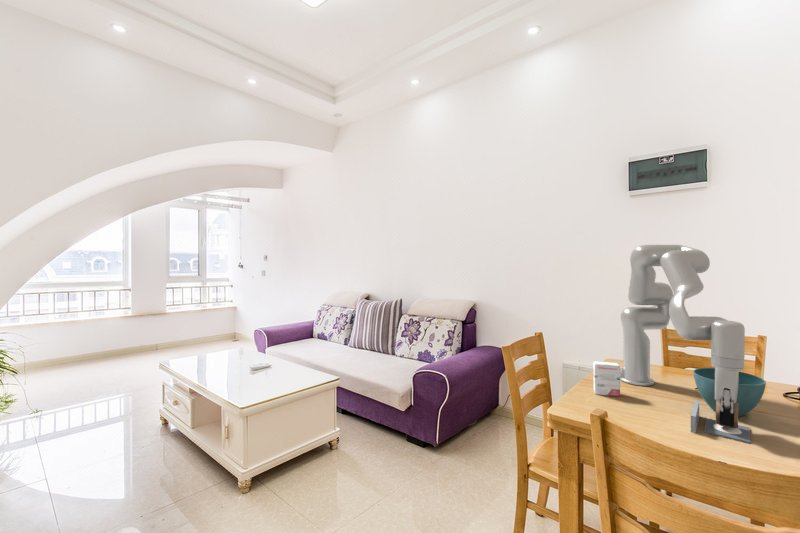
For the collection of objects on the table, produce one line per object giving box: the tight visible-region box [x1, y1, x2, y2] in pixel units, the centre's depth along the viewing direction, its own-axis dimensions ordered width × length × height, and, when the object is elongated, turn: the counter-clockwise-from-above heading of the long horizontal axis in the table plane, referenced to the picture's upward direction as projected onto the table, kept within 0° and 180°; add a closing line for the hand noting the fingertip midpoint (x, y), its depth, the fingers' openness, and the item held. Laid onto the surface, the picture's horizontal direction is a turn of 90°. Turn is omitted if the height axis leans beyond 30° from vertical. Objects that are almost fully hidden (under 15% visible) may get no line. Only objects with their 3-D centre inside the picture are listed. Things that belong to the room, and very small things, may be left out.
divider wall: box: [690, 399, 700, 434], centre depth 115 cm, size 1×16×5 cm, turn 138°
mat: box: [704, 417, 752, 444], centre depth 110 cm, size 10×12×1 cm
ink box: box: [592, 361, 621, 397], centre depth 142 cm, size 9×5×12 cm, turn 71°
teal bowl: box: [693, 367, 767, 417], centre depth 124 cm, size 18×18×12 cm
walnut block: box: [715, 399, 739, 428], centre depth 110 cm, size 5×5×7 cm
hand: (726, 421), depth 110 cm, fingers closed on walnut block, 5 cm apart
